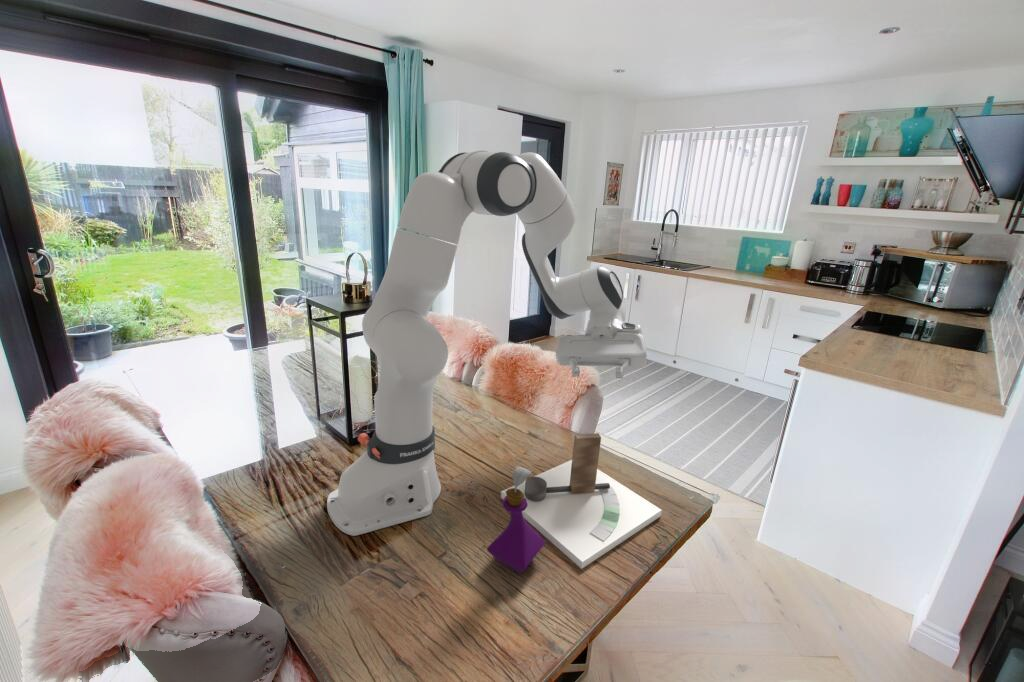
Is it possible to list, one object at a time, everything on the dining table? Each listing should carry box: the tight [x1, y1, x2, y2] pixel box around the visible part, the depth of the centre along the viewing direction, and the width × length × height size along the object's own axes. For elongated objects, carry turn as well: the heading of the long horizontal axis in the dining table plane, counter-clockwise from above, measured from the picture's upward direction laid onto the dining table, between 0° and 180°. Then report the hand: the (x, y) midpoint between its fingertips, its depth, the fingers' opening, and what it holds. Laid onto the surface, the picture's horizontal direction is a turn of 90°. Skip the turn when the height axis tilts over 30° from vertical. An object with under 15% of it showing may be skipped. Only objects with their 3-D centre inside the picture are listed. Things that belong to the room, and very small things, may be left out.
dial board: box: [500, 459, 663, 570], centre depth 92 cm, size 23×23×2 cm
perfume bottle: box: [486, 466, 547, 574], centre depth 75 cm, size 8×8×18 cm
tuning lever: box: [525, 432, 610, 501], centre depth 91 cm, size 18×4×13 cm, turn 100°
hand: (596, 375), depth 97 cm, fingers open, 8 cm apart
